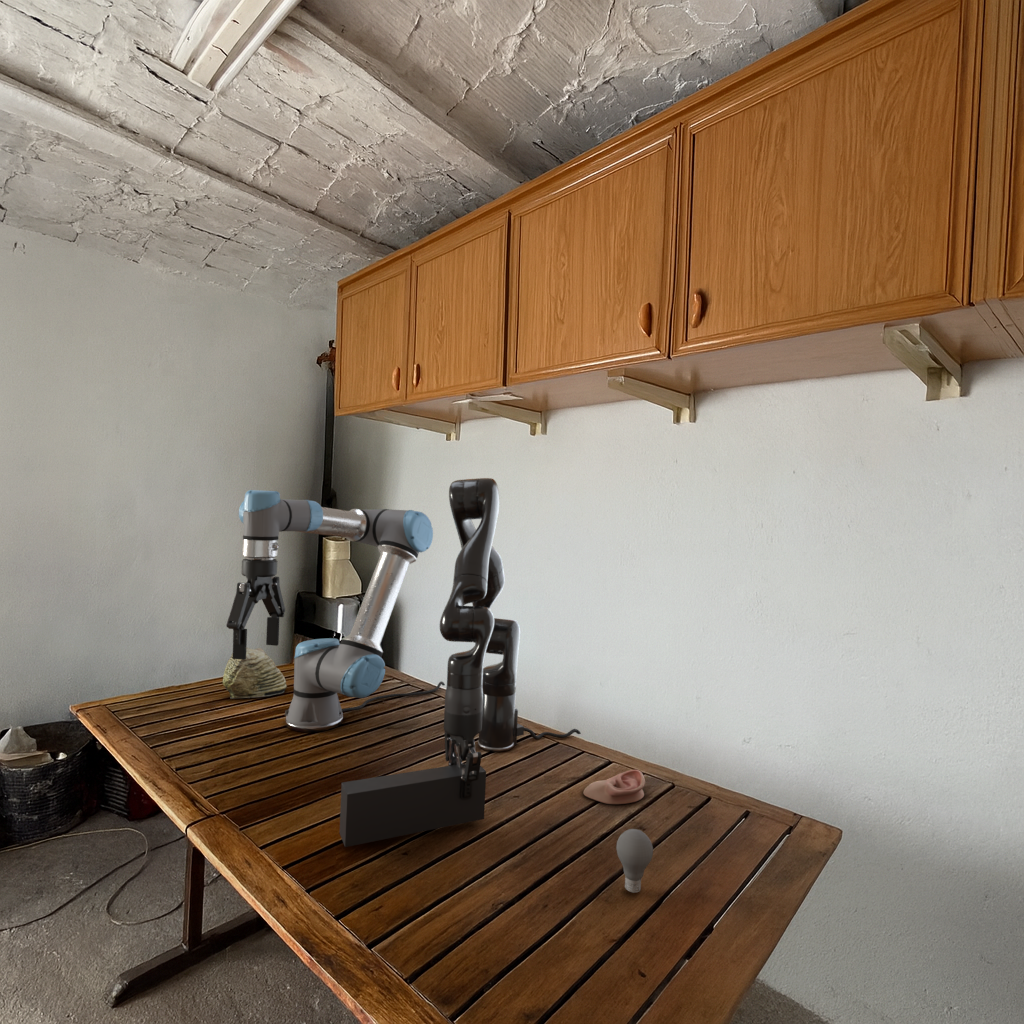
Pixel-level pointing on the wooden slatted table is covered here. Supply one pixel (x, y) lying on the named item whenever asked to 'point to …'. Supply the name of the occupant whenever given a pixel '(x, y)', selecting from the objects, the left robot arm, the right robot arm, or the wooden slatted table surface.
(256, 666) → the fossil
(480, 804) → the bar
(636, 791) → the anatomical model
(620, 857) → the light bulb
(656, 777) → the wooden slatted table surface
